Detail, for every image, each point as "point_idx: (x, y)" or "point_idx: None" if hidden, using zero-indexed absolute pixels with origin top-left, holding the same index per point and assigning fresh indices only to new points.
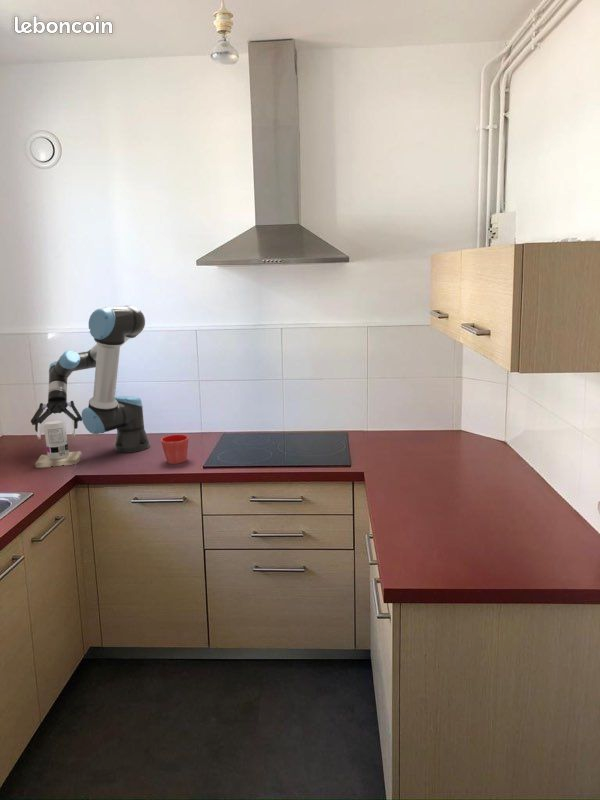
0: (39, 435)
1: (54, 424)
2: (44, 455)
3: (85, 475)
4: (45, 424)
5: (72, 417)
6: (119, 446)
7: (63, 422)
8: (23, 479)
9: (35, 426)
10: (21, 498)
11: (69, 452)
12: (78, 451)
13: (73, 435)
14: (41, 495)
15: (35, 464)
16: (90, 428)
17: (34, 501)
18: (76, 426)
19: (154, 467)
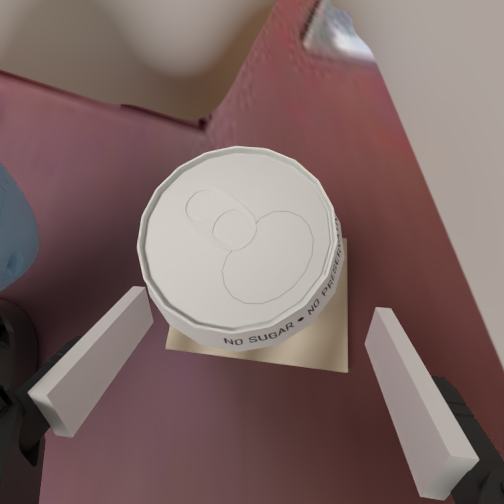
0: (377, 323)
1: (229, 150)
2: (329, 353)
3: (179, 121)
4: (326, 203)
5: (4, 442)
6: (5, 322)
7: (145, 229)
8: (357, 143)
9: (479, 428)
10: (326, 24)
11: (214, 351)
12: (175, 349)
13: (146, 311)
14: (282, 29)
15: (345, 240)
16: (8, 195)
17: (292, 5)
18: (75, 338)
19: (8, 126)
